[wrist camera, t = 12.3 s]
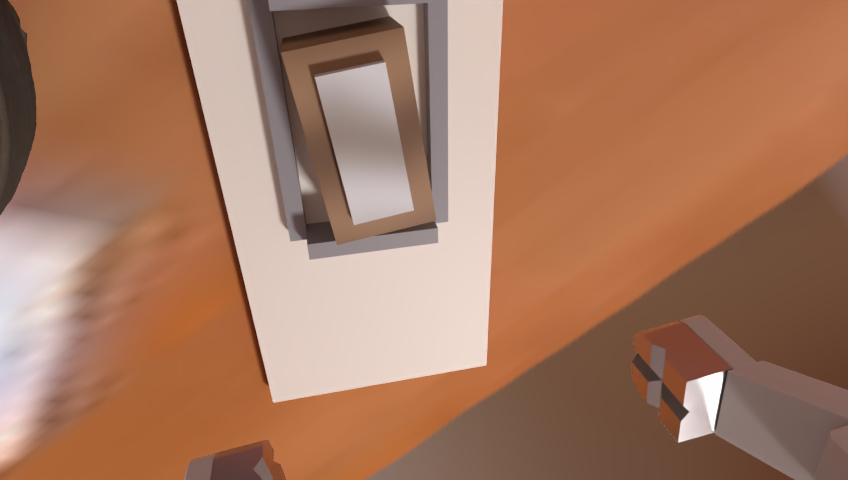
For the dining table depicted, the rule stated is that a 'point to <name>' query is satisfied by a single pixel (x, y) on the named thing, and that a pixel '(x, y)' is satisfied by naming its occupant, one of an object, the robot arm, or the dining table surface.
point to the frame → (361, 126)
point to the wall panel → (305, 208)
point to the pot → (14, 103)
